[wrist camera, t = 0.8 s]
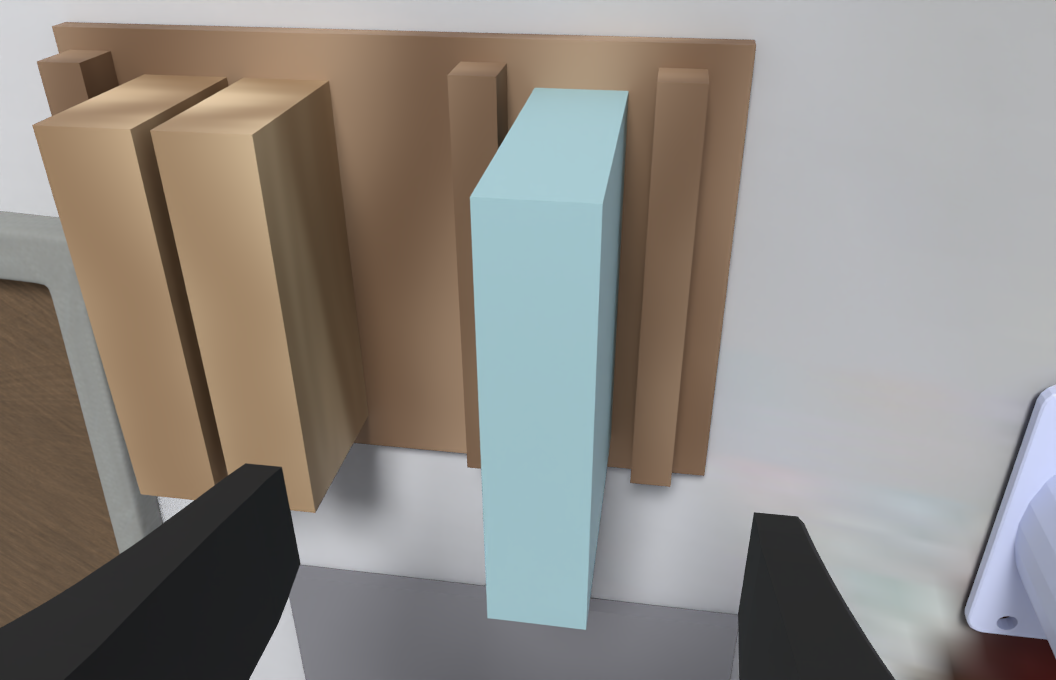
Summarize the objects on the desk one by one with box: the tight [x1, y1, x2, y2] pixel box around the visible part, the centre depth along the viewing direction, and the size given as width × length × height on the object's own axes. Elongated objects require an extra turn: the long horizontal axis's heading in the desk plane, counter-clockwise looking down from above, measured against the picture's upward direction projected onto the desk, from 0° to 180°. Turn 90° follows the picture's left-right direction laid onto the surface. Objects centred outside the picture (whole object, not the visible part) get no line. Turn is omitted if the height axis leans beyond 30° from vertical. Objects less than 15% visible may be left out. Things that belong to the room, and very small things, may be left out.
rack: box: [37, 22, 756, 487], centre depth 21 cm, size 16×11×2 cm
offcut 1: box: [32, 74, 228, 500], centre depth 20 cm, size 2×9×4 cm, turn 1°
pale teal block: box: [470, 88, 629, 630], centre depth 18 cm, size 2×9×6 cm, turn 1°
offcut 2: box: [150, 78, 369, 513], centre depth 20 cm, size 2×9×4 cm, turn 0°
